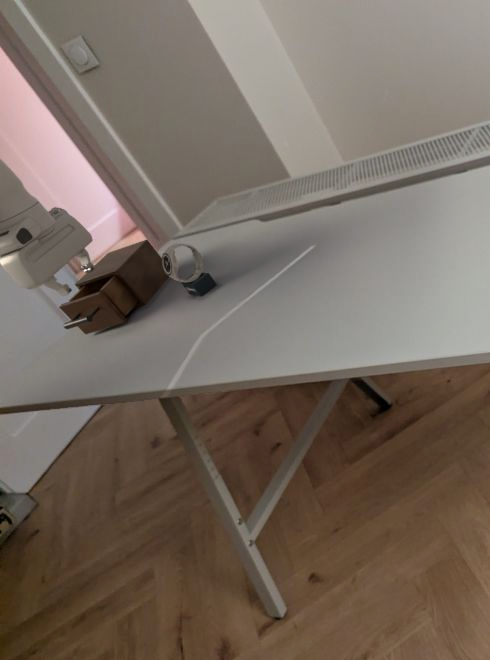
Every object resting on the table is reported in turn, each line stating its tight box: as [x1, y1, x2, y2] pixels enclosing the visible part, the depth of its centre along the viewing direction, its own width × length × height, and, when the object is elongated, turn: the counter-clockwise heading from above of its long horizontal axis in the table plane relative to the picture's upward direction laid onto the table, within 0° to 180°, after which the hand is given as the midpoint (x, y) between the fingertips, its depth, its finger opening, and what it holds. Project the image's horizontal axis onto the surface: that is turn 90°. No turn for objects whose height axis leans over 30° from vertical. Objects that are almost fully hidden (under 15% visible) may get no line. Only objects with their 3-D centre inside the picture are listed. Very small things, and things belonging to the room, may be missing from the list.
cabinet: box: [74, 239, 170, 310], centre depth 128 cm, size 15×12×10 cm
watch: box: [161, 243, 218, 297], centre depth 116 cm, size 6×8×11 cm
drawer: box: [58, 274, 139, 335], centre depth 119 cm, size 18×10×8 cm, turn 0°
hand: (79, 281), depth 115 cm, fingers open, 8 cm apart
